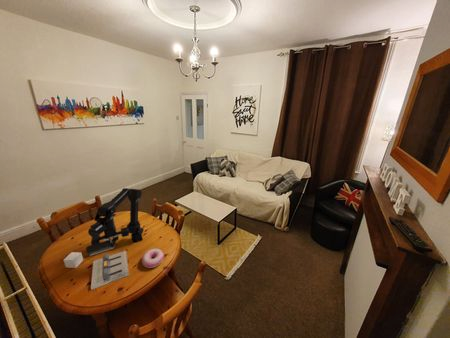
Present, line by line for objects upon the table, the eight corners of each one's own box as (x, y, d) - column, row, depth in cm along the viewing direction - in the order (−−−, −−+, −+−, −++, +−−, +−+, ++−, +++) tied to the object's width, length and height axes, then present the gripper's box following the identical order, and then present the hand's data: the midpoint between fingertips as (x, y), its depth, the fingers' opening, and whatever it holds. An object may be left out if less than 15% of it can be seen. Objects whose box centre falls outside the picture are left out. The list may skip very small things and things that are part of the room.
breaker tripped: (109, 264, 109) (108, 259, 108) (109, 269, 106) (108, 264, 105) (103, 266, 108) (102, 261, 107) (103, 271, 105) (102, 266, 103)
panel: (126, 252, 121) (126, 250, 121) (129, 275, 105) (128, 273, 105) (93, 262, 112) (93, 260, 112) (91, 289, 96) (90, 287, 96)
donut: (154, 272, 108) (153, 266, 106) (137, 265, 112) (136, 259, 110) (168, 256, 120) (168, 250, 118) (152, 250, 124) (151, 244, 122)
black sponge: (87, 258, 115) (85, 254, 114) (87, 249, 122) (86, 245, 121) (116, 249, 124) (115, 244, 123) (115, 241, 131) (114, 237, 129)
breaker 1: (109, 257, 114) (108, 253, 113) (109, 262, 111) (108, 257, 110) (103, 259, 113) (102, 254, 111) (103, 264, 109) (102, 259, 108)
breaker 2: (109, 271, 105) (108, 267, 103) (109, 277, 101) (108, 272, 100) (103, 274, 103) (102, 269, 102) (103, 279, 100) (101, 274, 99)
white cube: (65, 267, 108) (63, 259, 106) (73, 259, 114) (71, 252, 112) (75, 267, 108) (73, 260, 106) (83, 259, 114) (81, 252, 112)
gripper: (125, 214, 115) (129, 234, 120) (90, 222, 106) (95, 244, 111) (127, 223, 106) (130, 245, 112) (88, 234, 97) (94, 256, 102)
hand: (113, 247), depth 109 cm, fingers closed
